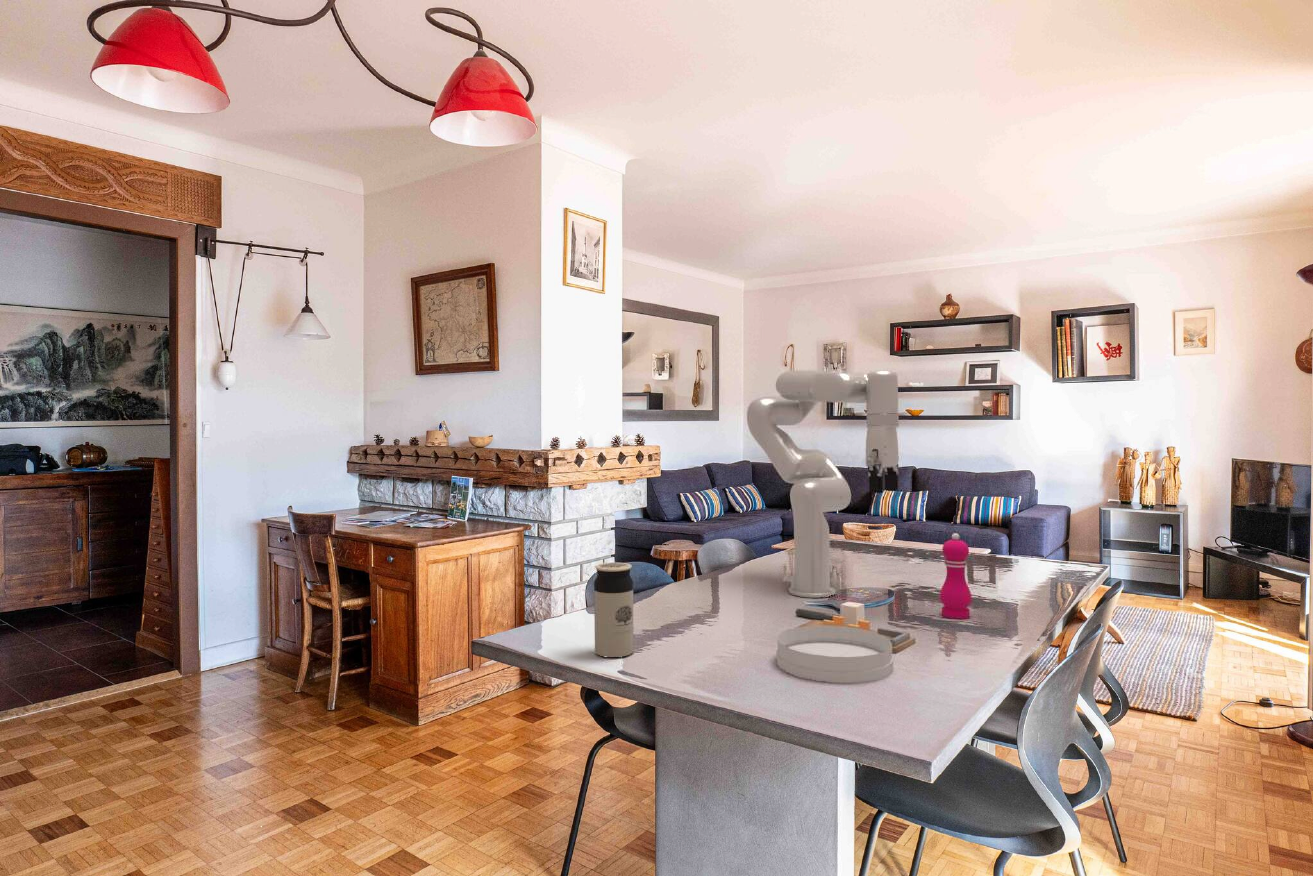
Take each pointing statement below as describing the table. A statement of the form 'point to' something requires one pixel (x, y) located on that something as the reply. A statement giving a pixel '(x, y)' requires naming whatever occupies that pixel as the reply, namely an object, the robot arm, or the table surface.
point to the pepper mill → (955, 580)
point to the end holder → (894, 635)
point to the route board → (894, 648)
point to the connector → (847, 610)
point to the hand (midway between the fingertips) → (884, 491)
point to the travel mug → (613, 610)
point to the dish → (835, 654)
